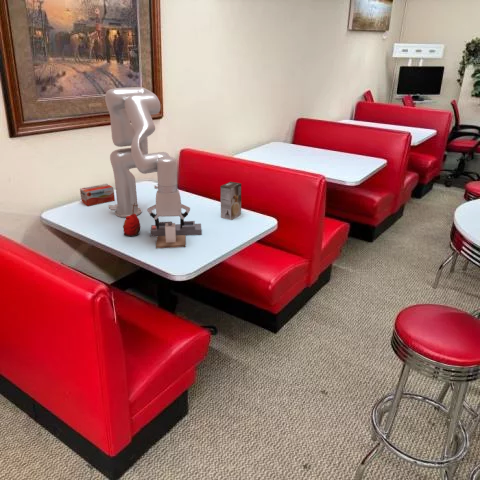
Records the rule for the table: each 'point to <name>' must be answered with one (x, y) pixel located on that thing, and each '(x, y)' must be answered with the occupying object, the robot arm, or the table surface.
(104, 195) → the medicine box
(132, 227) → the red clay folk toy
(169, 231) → the plug
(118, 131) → the robot arm
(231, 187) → the coffee box
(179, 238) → the walnut mat
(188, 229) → the power strip
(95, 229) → the table surface
